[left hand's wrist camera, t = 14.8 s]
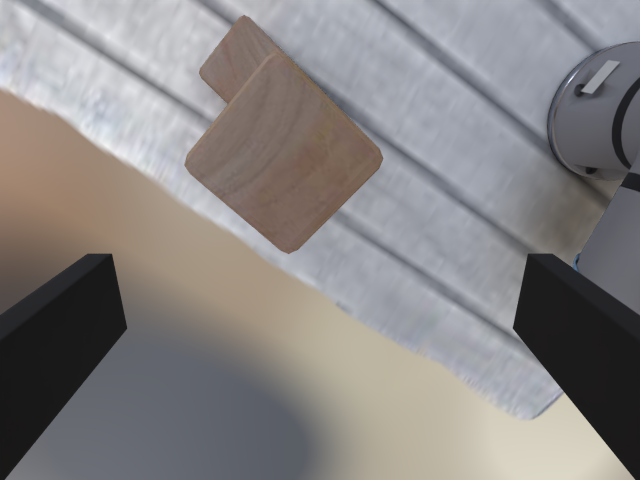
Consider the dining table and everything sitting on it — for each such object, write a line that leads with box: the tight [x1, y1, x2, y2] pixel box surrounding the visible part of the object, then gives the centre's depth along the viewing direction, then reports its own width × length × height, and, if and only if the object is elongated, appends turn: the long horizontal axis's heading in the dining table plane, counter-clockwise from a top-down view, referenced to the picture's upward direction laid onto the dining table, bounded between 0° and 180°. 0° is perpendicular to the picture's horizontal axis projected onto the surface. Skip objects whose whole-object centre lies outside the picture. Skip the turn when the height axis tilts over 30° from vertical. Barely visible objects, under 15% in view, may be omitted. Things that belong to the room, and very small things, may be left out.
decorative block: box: [185, 15, 383, 254], centre depth 32 cm, size 8×15×30 cm, turn 47°
